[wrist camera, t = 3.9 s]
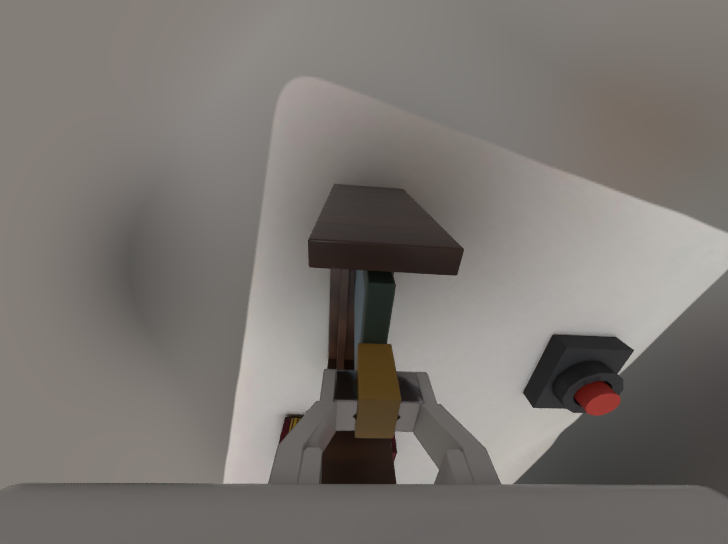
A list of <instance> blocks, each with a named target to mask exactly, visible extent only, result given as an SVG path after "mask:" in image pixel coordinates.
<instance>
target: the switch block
mask: <svg viewBox="0 0 728 544" xmlns="http://www.w3.org/2000/svg"><path fill="white" fill-rule="evenodd" d="M633 351H634V350H633V349H631V348H630V347H629V346H627V345H626V344H625V343H623V342H622V341H621V340H619V339H618V338H616V337H594V336H570V335H553V336H552V338H551V340H550V342H549V344H548V346H547V348H546V350H545V352H544V354H543V356H542V358H541V360H540V362H539V364H538V366H537V368H536V369H535V371H534V373H533V375H532V377H531V379H530V381H529V383H528V385H527V387H526V389H525V391H524V395H525V396H526V398H527V399H528V401H529V402H530V404H531V405H532V407H533V408H564V409H568V410H570V411H571V412H573V413H587V412H586V411H585V410H584V409H583V407H582V406H581V405H580V404H579V403H578V402H577V400H576V399H575V397H574V395H575V394H576V392H577V391H578V390H579V389H580V388H582V387H583V386H585V385H586V384H589V383H592V382H595V381H603V382H605V383H606V384H607V385H608V386H609V387H610V388H611V389H612V390H613V391H614V392H615V393H617V394H618V395H619V394H620V393H621V392H622V390H623V379H622V378H621V377H620V376H619V375H617V374H618V372H619V371H620V369H621V368H622V367H623V365H624V364H625V362H626V361H627V360H628V358H629V357H630V355H631V354H632V352H633Z"/></svg>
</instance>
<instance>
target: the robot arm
mask: <svg viewBox="0 0 728 544" xmlns="http://www.w3.org/2000/svg"><path fill="white" fill-rule="evenodd" d="M396 373H397V378H398V384H399V389H400V395H401V404H400V408H399V413H398V418H397V423H396V427H395V431H402V432H413V433H414V435H415V436H416V438H417V439H418V440H419V442H420V443H421V445H422V446H423V447H424V449H425V450H426V452H427V453H428V454H429V456H430V457H431V459H432V460H433V461H434V463H435V464H436V466H437V467H438V469H439V472H438V475H437V477H436V480H435V483H434V484H321V482H322V453H323V451H324V450H325V448H326V447H327V445H328V443H329V442H330V440H331V439H332V437H333V435H334V434H335V432H336V431H352V430H355V427H356V414H357V408H358V386H357V381H358V371H357V370H341V369H324V373H323V381H322V388H321V396H320V401H316V402H315V403H314V404H313V406H312V407H311V408H310V409H309V410H308V411H307V413H306V414H305V415H304V416H303V417H302V418H301V419H300V421H299V422H298V423H297V424H296V425H295V426H294V428H293V429H292V430H291V431H290V432H289V433H288V434H287V436H286V437H285V438H284V439H283V440H282V441H281V442H280V444H279V445H278V447H277V451H276V455H275V459H274V463H273V467H272V471H271V474H270V478H269V482H268V484H181V483H178V484H177V483H176V484H175V483H174V484H172V483H169V484H168V483H20V484H15V485H11V486H9V487H6V488H4V489H2V490H0V544H728V497H726V496H724V495H723V494H721V493H719V492H717V491H715V490H714V489H711V488H708V487H705V486H699V485H502V484H501V483H500V480H499V478H498V476H497V473H496V471H495V469H494V466H493V464H492V462H491V459H490V457H489V455H488V452H487V450H486V448H485V447H484V446H483V445H482V444H481V443H480V442H479V441H478V440H477V439H476V438H475V437H474V436H473V435H472V434H471V433H469V432H468V431H467V430H466V429H465V428H464V427H463V426H462V425H461V424H460V423H459V422H458V421H457V420H456V419H455V418H454V417H453V416H452V415H451V414H450V413H449V412H448V411H447V410H446V409H445V408H444V407H443V406H442V405H441V404H437V402H436V399H435V396H434V392H433V389H432V386H431V383H430V380H429V377H428V374H427V373H426V372H403V371H396Z"/></svg>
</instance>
